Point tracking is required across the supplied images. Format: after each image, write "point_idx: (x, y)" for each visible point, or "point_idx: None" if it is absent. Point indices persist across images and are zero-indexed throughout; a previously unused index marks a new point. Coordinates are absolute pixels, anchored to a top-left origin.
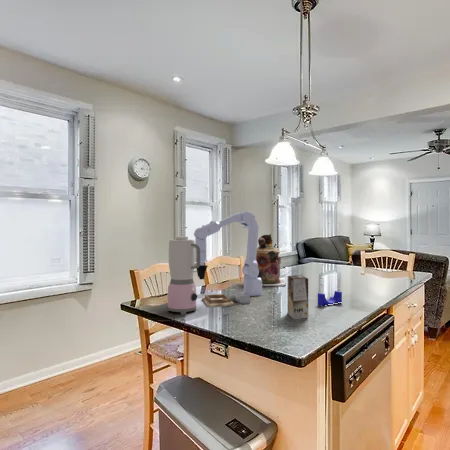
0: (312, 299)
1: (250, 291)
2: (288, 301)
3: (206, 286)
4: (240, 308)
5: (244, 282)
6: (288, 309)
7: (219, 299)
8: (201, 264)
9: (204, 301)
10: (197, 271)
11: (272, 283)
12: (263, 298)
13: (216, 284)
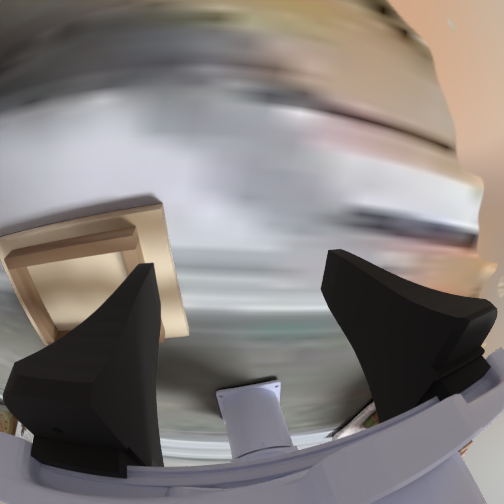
0: (171, 465)
1: (225, 414)
2: (7, 432)
3: (466, 250)
4: (21, 346)
5: (254, 433)
6: (11, 417)
7: (28, 305)
8: (8, 453)
9: (79, 220)
10: (370, 279)
11: (365, 422)
12: (183, 419)
13: (469, 286)
